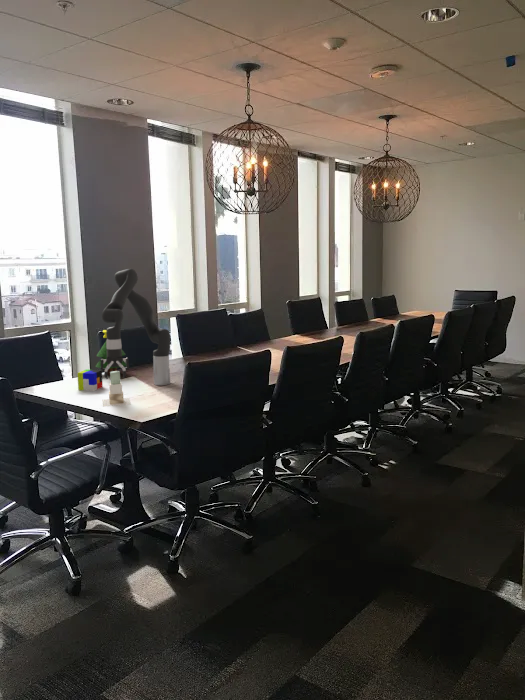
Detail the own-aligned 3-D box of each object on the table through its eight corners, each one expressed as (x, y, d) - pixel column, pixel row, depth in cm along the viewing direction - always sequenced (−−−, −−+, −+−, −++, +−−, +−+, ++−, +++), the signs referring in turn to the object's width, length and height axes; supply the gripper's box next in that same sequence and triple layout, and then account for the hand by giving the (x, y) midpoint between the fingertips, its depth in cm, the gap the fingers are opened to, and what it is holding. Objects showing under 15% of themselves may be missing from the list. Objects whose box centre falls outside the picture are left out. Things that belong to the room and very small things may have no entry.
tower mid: (121, 391, 313) (121, 381, 312) (122, 393, 307) (121, 384, 307) (109, 391, 311) (109, 382, 311) (110, 394, 306) (109, 385, 305)
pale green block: (120, 382, 312) (119, 370, 311) (120, 384, 307) (120, 372, 306) (110, 382, 310) (110, 371, 309) (110, 384, 306) (110, 373, 305)
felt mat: (129, 398, 319) (129, 397, 319) (131, 405, 306) (131, 404, 306) (102, 400, 315) (102, 399, 315) (102, 407, 302) (102, 406, 302)
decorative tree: (95, 378, 368) (93, 330, 363) (96, 372, 387) (94, 326, 382) (127, 377, 372) (125, 329, 367) (126, 371, 391) (125, 326, 386)
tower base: (122, 399, 315) (122, 390, 314) (123, 403, 308) (123, 393, 307) (109, 400, 313) (108, 391, 312) (109, 404, 306) (109, 394, 305)
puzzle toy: (94, 390, 337) (93, 373, 335) (78, 390, 339) (77, 372, 337) (102, 386, 347) (101, 370, 345) (86, 386, 349) (86, 369, 347)
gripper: (127, 345, 311) (129, 376, 314) (99, 347, 307) (101, 377, 310) (128, 348, 304) (129, 378, 307) (99, 349, 300) (101, 380, 303)
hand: (115, 378), depth 308 cm, fingers open, 8 cm apart
